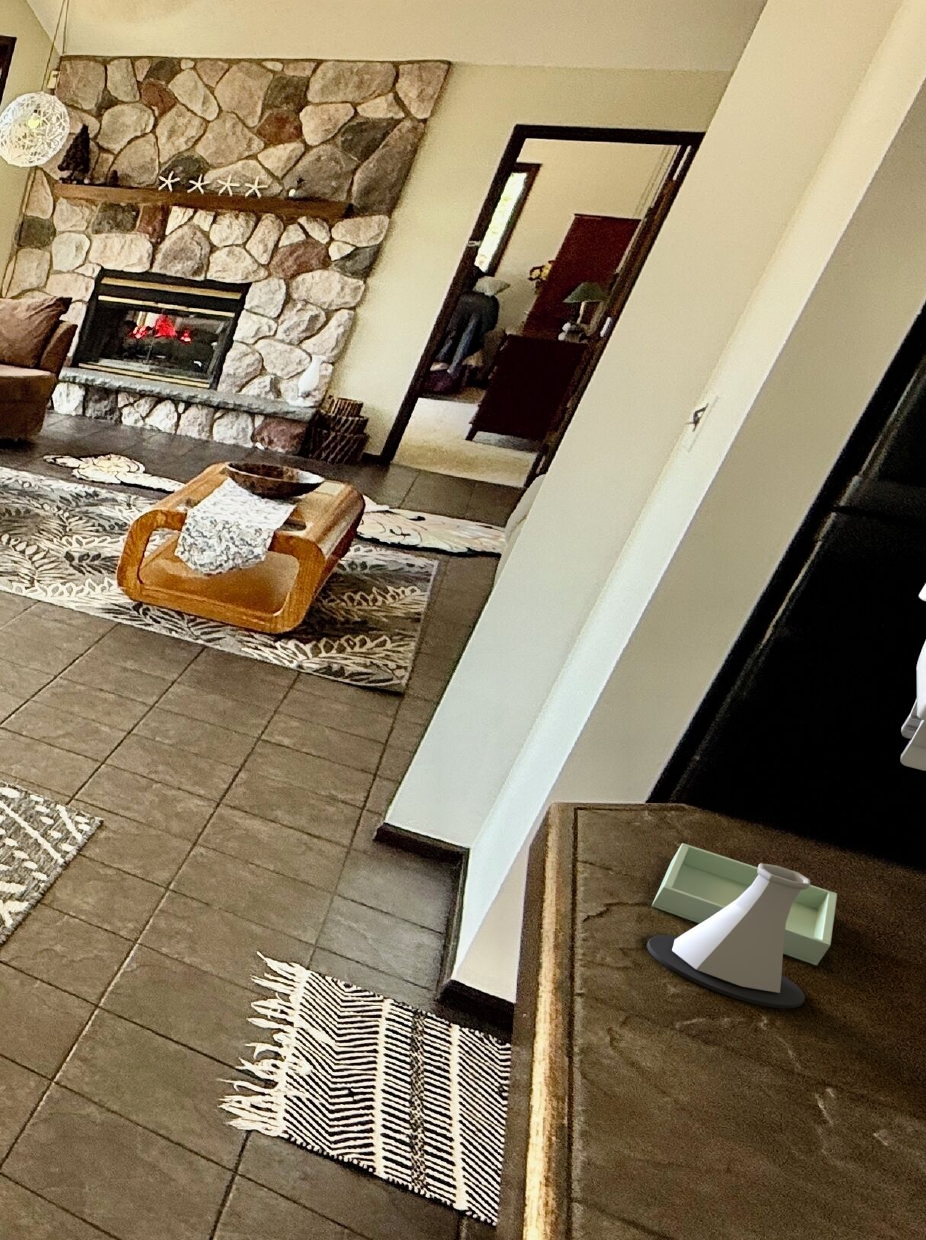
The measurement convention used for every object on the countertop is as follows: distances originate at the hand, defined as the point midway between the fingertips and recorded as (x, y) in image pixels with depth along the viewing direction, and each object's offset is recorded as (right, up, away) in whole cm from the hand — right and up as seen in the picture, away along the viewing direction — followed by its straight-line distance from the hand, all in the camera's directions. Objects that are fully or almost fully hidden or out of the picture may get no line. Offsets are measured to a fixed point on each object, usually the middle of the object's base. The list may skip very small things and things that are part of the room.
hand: (914, 751), depth 94 cm
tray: (+6, -17, +19) cm, 26 cm away
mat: (-7, -20, +8) cm, 23 cm away
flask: (-7, -20, +8) cm, 23 cm away
